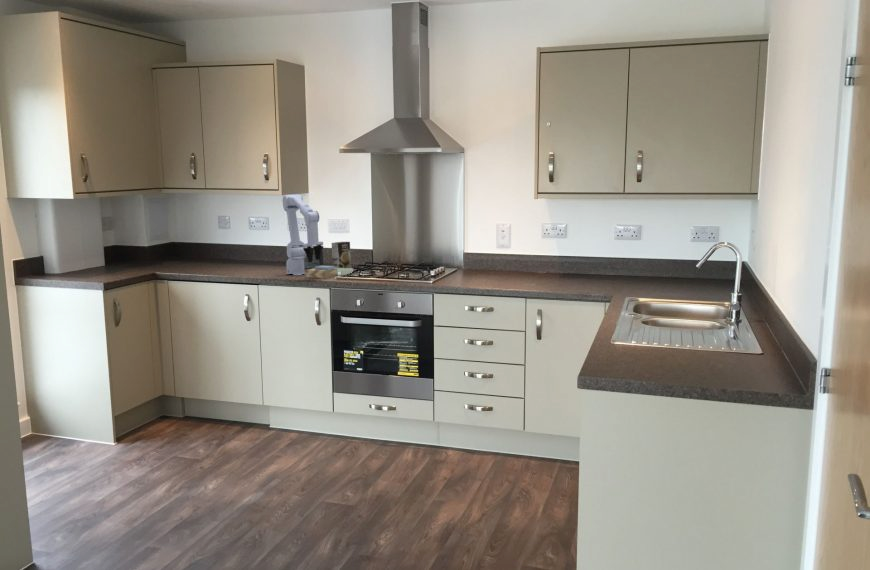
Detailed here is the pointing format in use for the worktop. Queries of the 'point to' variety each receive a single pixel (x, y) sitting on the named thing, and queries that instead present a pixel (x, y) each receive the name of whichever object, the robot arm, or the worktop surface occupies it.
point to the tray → (344, 271)
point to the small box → (313, 262)
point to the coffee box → (341, 255)
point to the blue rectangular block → (324, 267)
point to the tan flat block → (321, 273)
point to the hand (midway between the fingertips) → (314, 260)
